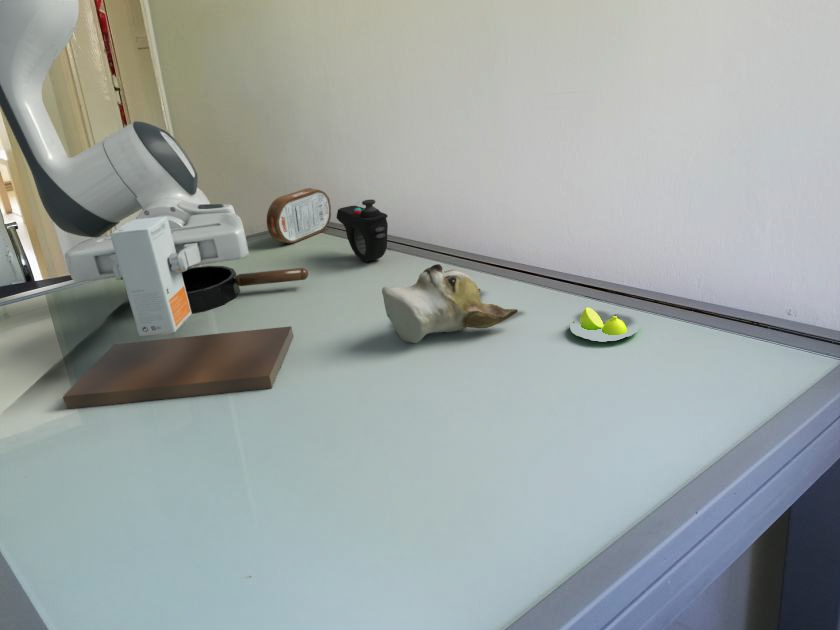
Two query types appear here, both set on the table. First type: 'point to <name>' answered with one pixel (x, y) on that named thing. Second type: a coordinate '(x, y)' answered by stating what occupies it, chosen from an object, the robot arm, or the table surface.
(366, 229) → the controller
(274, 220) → the tin
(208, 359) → the cutting board
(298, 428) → the table surface
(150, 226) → the cosmetic box
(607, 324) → the lemon
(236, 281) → the pan
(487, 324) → the ceramic sculpture
